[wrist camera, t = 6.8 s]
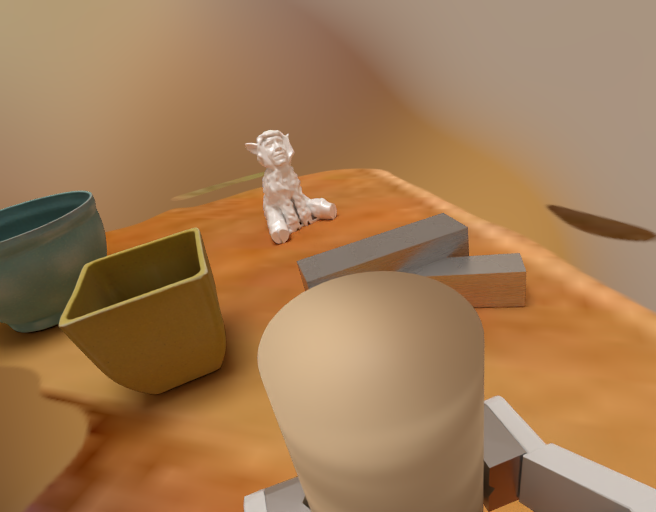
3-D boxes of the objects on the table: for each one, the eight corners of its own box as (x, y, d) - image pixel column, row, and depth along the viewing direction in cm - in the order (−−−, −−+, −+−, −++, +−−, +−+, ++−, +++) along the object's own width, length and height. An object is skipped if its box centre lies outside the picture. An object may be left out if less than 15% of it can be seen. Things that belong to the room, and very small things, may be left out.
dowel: (380, 722, 10) (277, 471, 5) (335, 557, 14) (247, 306, 8) (512, 653, 11) (543, 366, 6) (438, 511, 14) (413, 253, 9)
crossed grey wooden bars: (304, 390, 26) (284, 333, 23) (282, 321, 33) (265, 271, 30) (539, 300, 28) (543, 240, 26) (471, 254, 35) (469, 204, 33)
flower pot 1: (139, 254, 53) (100, 178, 48) (131, 315, 39) (75, 218, 34) (8, 299, 49) (-49, 222, 44) (-52, 383, 35) (-145, 285, 30)
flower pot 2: (251, 376, 28) (207, 271, 24) (126, 430, 26) (53, 326, 22) (234, 313, 35) (198, 225, 31) (136, 351, 33) (83, 263, 29)
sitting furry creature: (277, 247, 46) (245, 146, 40) (247, 230, 52) (216, 141, 46) (340, 216, 50) (320, 120, 44) (305, 204, 56) (283, 119, 51)
